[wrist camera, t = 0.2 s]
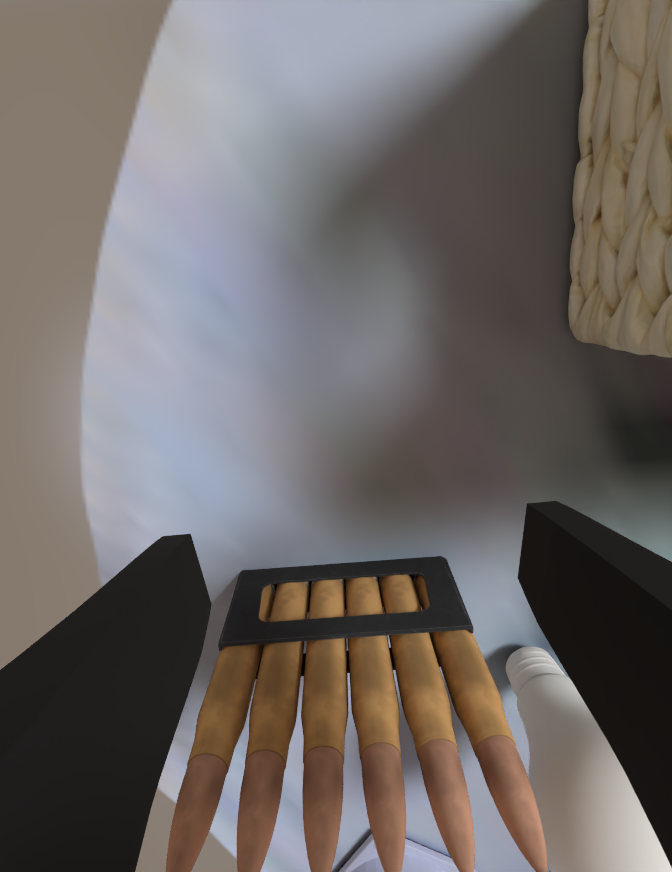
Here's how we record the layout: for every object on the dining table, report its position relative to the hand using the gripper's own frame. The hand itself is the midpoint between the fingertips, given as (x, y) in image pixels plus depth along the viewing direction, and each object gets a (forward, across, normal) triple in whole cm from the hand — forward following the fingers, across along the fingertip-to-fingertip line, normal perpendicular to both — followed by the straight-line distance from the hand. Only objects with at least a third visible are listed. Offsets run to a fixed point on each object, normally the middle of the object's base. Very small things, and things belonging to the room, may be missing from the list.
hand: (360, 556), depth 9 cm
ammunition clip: (+9, +1, +10) cm, 13 cm away
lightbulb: (+8, -9, +15) cm, 19 cm away
